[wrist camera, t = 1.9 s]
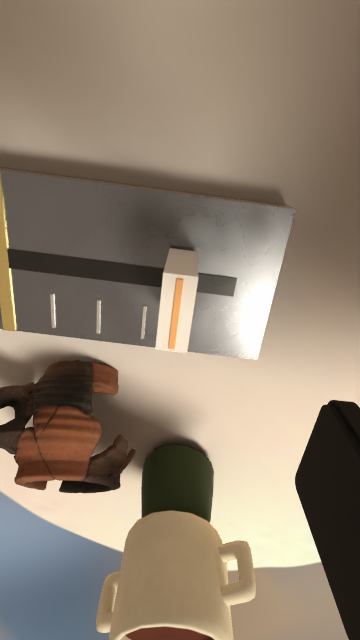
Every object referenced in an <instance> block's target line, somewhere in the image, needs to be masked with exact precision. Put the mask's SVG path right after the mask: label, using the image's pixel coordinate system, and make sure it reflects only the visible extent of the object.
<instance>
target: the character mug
mask: <svg viewBox="0 0 360 640" xmlns="http://www.w3.org/2000/svg"><path fill="white" fill-rule="evenodd" d="M213 474H214V471H213V468H212V464H211V462H210V461H209V460H208V459H207V458H206V457H205V456H204V455H203V454H202V453H201V452H199V451H197V450H195V449H193V448H190V447H188V446H186V445H174V444H169V445H166V446H163V447H160V448H157V449H155V450H154V451H153V452H152V453H151V454H150V455H149V456H148V457H147V458H146V459H145V463H144V467H143V471H142V518H141V519H139V520H138V521H137V522H136V523H135V524H134V526H133V527H132V528H131V530H130V531H129V533H128V536H127V538H126V542H125V548H124V553H123V559H122V565H121V571H119V572H115V573H112V574H110V575H109V576H107V577H106V579H105V582H104V584H103V590H102V594H101V598H100V603H99V608H98V613H97V617H96V621H97V622H96V623H97V631H99V632H102V633H105V632H110V635H109V640H233V632H232V622H231V611H230V605H234V604H238V603H243V602H248V601H250V600H251V599H253V598H254V597H255V592H256V582H255V575H254V569H253V562H252V556H251V549H250V547H249V545H248V543H247V542H246V541H238V540H237V541H233V542H229V543H226V544H222V540H221V538H220V536H219V534H218V533H217V531H216V530H215V529H214V528H213V526H212V525H211V524H210V519H211V508H212V497H213ZM236 559H237V563H238V572H239V582H237V583H234V584H229V585H228V574H227V564H226V562H228V561H232V560H236ZM116 591H117V593H116ZM115 596H116V599H115ZM114 601H115V604H114ZM113 607H114V610H113Z"/></svg>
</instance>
